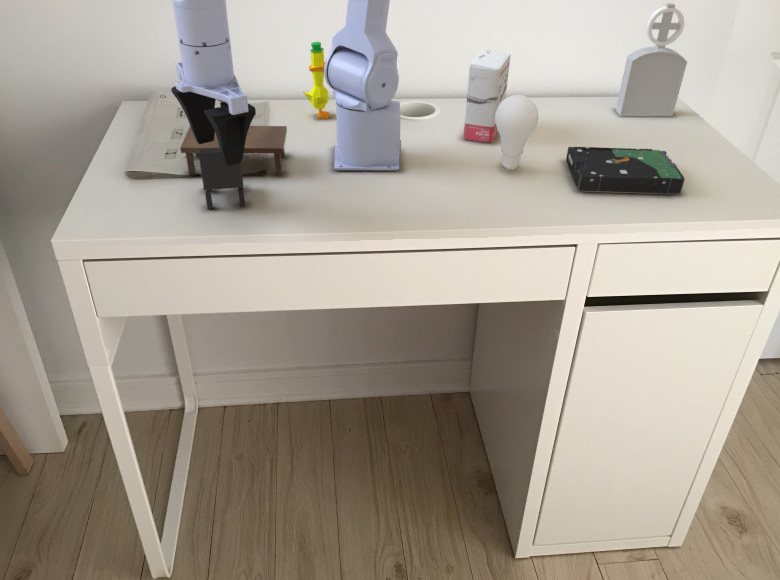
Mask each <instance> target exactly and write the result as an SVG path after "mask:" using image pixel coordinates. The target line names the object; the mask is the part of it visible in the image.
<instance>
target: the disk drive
mask: <svg viewBox="0 0 780 580" xmlns="http://www.w3.org/2000/svg"><path fill="white" fill-rule="evenodd" d="M566 151H567V152H566V158H565V162H566V164H567V167H568V170H569V172H570V175H571V177H572V179H573V182H574V184H575V186H576V188H577V191H582V192H586V193H587V192H588V193H616V194H617V193H618V194H619V193H621V194H629V193H630V194H634V193H635V194H647V195H648V194H649V195H676V194H678V195H680V194H681V193H682V191H683V188H684V184H685V179H686V178H685V177H684V175H683V173H682V172H681V171H680V169H679V168H678V166H677V164H676V163H675V162H673V160H672V159H671V158H670V157H669V155H668V154H667V152H668V151H666V150H660V149H652V148H630V147H629V148H628V147H627V148H625V147H600V146H599V147H598V146H597V147H595V146H568V147H567V150H566Z"/></svg>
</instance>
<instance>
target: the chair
mask: <svg viewBox="0 0 780 580" xmlns="http://www.w3.org/2000/svg"><path fill="white" fill-rule="evenodd" d="M198 152H199V157H198V160H199V166H200V172H201V174H200V175H201V179H202V185H203V190H204V196H205V201H206V207H207V210H214V204H213V197H212V193H213V190H227V189H237V193H238V194H237V195H238V201H239V207H240V208H242V207H243V208H245V207H246V199H245V191H244V178H243V171H242V170H243V169H242V162H241V163H237V164H233V165H230V166H227V165H226V164H225V162H224V160H223V158H222V154H221V151H220V149H207V150H199V151H198ZM211 192H212V193H211Z"/></svg>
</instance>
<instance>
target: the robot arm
mask: <svg viewBox="0 0 780 580" xmlns="http://www.w3.org/2000/svg"><path fill="white" fill-rule="evenodd" d="M390 1H391V0H347V7H346V16H345V23H344V24H345V25H344V26H343V28H341V29H340V30H338V31H337V32H336V33H335V34H333V36H332V40H331V47H330V50H329V53H328V55H327V57H326V59H325V61H324V62H325V66H324V80H325V83H326V84H327V86H329V88H331V90H332V96H333V97H332V98H334V99H335V116H336V117H335V118H336V119H335V120H336V145H335V146H334V161H333V162H334V164H333V169H334V170H335V171H400V153H401V152H402V139H401V103H400V101H397V100H393V99H394V98H395V95H396V93H397V91H398V88H399V83H400V76H399V71H398V64H397V63H398V54H399V53H398V50H397V48H396V47H395V45H394V43H393V42H392V40H391V39H390V37H389V35H388V33H387V25H388V17H389V10H390V3H391V2H390ZM171 2H172V7H173V13H174V21H175V27H176V32H177V40H178V47H179V52H180V59H181V62H176V63H175V68H176V74H177V79H178V80H179V81H175V83H174V85H175V86H173V87H171V88H170V90H171V93H172V95H173V96H174V97H175V98H176V100H177V102H178V104H179V105H180V106H181V108H182V111H183V112H184V114H185V117H186V119H187V122H188V123H189V127H190V126H191V129H192V132H193V134H194V137H195V139H196V141H197V143H198V144H203V143H207V142H212V141H214V137H215V133H216V136H217V139H218V142H219V146H220V151H221V154H222V158H223V160H224V162H225V164H226V165H227V166H230V165H233V164H237V163H241V164H242V163H243V160H244V155H245V153H244V148H245V142H246V136H247V133H248V129H249V126H251V124H252V122H253V120H254V118H255V117H256V114H257V113H256V111H257V110H256V107H255V106H253V105H252V104H250V103H249V102H248V95H247V94H246V93H245V92H243V90H242V88H241V85H240V83H239V81H238V79H237V76H236V75H235V71H234V63H233V55H232V45H231V37H230V28H229V27H230V26H229V18H228V9H227V0H171ZM216 101H217V102H219V105H220V106H218V107H216Z"/></svg>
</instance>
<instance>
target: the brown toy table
mask: <svg viewBox="0 0 780 580" xmlns="http://www.w3.org/2000/svg"><path fill="white" fill-rule="evenodd" d="M287 133H288V127H287V125H250V126H249V129H248V133H247V136H246V142H245V148H244V154H269V155H270V154H273V155H274V156H273V157H274V169H275V176H276V177H282V174H283V170H282V158H285V157H286V151H285V145H286V140H287V139H286V138H287ZM179 148H180V153H181V154H185V157H186V164H187V171H188V175H189V176H196V174H197V171H196V166H195V159H194V154H195V155H196V158H199V152H198V151H199V150H207V149H220V146H219V142H218V139H217V136H216V133H215V137H214V141H212V142H207V143H203V144H198V143H197V141H196V139H195V137H194V134H193V132H192V129H191V126H190V125H189V127H188V129H187V132H186V133H185V136H184V139H183V141H182V143H181V145H180V147H179Z"/></svg>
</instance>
